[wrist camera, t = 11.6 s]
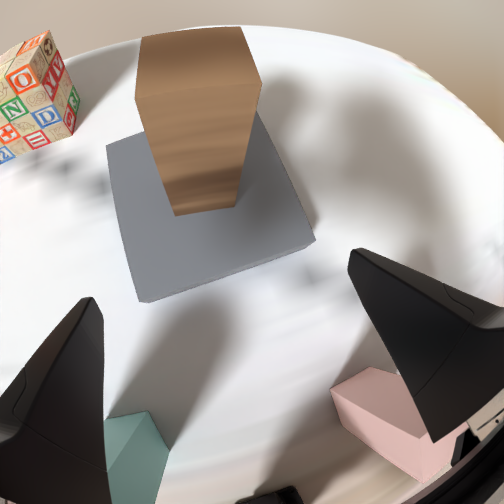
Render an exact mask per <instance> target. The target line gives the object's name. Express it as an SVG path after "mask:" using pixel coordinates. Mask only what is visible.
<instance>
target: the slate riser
mask: <svg viewBox="0 0 504 504" xmlns="http://www.w3.org/2000/svg"><path fill="white" fill-rule="evenodd" d="M106 151H107V159H108V166H109V173H110V180H111V186H112V192H113V198H114V203H115V209H116V214H117V219H118V223H119V228H120V232H121V237H122V241H123V245H124V249H125V253H126V257H127V261H128V265H129V269H130V272H131V276H132V279H133V283H134V286H135V290H136V293H137V296H138V299H139V302H144V303H151V302H154V301H157V300H160V299H162V298H165V297H168V296H171V295H174V294H177V293H180V292H183V291H186V290H189V289H192V288H195V287H198V286H201V285H203V284H206V283H209V282H212V281H215V280H218V279H221V278H224V277H226V276H229V275H232V274H235V273H238V272H241V271H243V270H246V269H249V268H252V267H255V266H258V265H260V264H263V263H266V262H269V261H272V260H274V259H277V258H280V257H283V256H286V255H288V254H291V253H294V252H297V251H299V250H302V249H304V248H306V247H307V246H309V245H310V244H312V243H313V242H315V241H316V239H315V236H314V234H313V231H312V229H311V227H310V224H309V222H308V220H307V217H306V215H305V213H304V210H303V208H302V206H301V203H300V201H299V199H298V197H297V194H296V192H295V190H294V188H293V185H292V183H291V181H290V179H289V177H288V174H287V172H286V170H285V168H284V166H283V164H282V162H281V160H280V157H279V155H278V153H277V151H276V149H275V147H274V145H273V143H272V141H271V139H270V137H269V135H268V133H267V131H266V129H265V127H264V125H263V123H262V121H261V119H260V117H259V115H258V113H257V111H255V116H254V120H253V124H252V128H251V133H250V137H249V142H248V146H247V150H246V155H245V159H244V164H243V168H242V173H241V178H240V182H239V187H238V192H237V196H236V201H235V206H234V207H231V208H225V209H218V210H212V211H206V212H199V213H193V214H187V215H182V216H176V217H175V215H174V212H173V210H172V207H171V204H170V202H169V199H168V196H167V194H166V191H165V188H164V186H163V183H162V180H161V177H160V175H159V172H158V169H157V166H156V163H155V160H154V158H153V155H152V152H151V149H150V146H149V143H148V140H147V137H146V134H145V131H144V132H141V133H138V134H135V135H133V136H130V137H127V138H124V139H122V140H119V141H116V142H114V143H111V144H109V145H106Z"/></svg>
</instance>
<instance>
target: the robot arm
mask: <svg viewBox="0 0 504 504" xmlns="http://www.w3.org/2000/svg"><path fill="white" fill-rule="evenodd" d="M348 274H349V277H350V279H351V281H352V283H353V285H354V287H355V289H356V292H357V294H358V296H359V298H360V300H361V303H362V305H363V307H364V308H365V310H366V312H367V314H368V316H369V317H370V319H371V321H372V323H373V324H374V326H375V328H376V330H377V331H378V333H379V335H380V337H381V339H382V340H383V342H384V344H385V346H386V348H387V350H388V351H389V353H390V355H391V357H392V359H393V361H394V363H395V365H396V367H397V369H398V370H399V372H400V374H401V376H402V378H403V380H404V382H405V384H406V386H407V388H408V390H409V392H410V394H411V396H412V398H413V401H414V403H415V405H416V407H417V409H418V412H419V414H420V416H421V418H422V420H423V422H424V425H425V427H426V429H427V431H428V434H429V436H430V438H431V441H432V442H433V444H434V443H436V442H437V441H439V440H440V439H442V438H443V437H445V436H446V435H448V434H449V433H451V432H452V431H453V430H455V429H456V428H457V427H459V426H460V425H461V424H463V423H464V422H465V421H466V423H467V425H468V428H467V429H466V430H465V431H463V432H462V433H461V434H460V435H459V436H458V437H456V442H455V447H454V452H453V456H452V460H451V466H452V468H451V469H450V470H449V471H447V472H446V473H445V474H444V475H442V476H441V477H440V478H438V479H437V480H436V481H434V482H433V483H432V484H430V485H429V486H427V487H426V488H425V489H423V490H422V491H420V492H419V493H417V494H416V495H414V496H413V497H411V498H410V499H408V500H406V501H405V502H403V503H401V504H499V503H500V502H501V501H502V499H503V498H504V307H499V306H496V305H494V304H491V303H489V302H486V301H484V300H482V299H479V298H477V297H474V296H472V295H469V294H467V293H465V292H462V291H460V290H458V289H455V288H453V287H451V286H449V285H447V284H445V283H442V282H440V281H438V280H436V279H434V278H431V277H429V276H427V275H425V274H423V273H420V272H418V271H416V270H414V269H411V268H409V267H407V266H404V265H402V264H400V263H397V262H395V261H393V260H390V259H388V258H386V257H383V256H381V255H379V254H376V253H374V252H371V251H369V250H367V249H364V248H357V249H353V250H352V251H351V253H350V258H349V263H348ZM103 383H104V319H103V315H102V313H101V311H100V309H99V307H98V305H97V303H96V301H95V300H94V298H93V297H86V298H82V299H80V301H79V302H78V303H77V304H76V305H75V306H74V307H73V308H72V309H71V310H70V312H69V313H68V314H67V315H66V316H65V317H64V318H63V319H62V321H61V322H60V323H59V324H58V325H57V326H56V327H55V329H54V330H53V331H52V332H51V333H50V334H49V336H48V337H47V338H46V339H45V340H44V342H43V343H42V344H41V345H40V347H39V348H38V349H37V350H36V352H35V353H34V354H33V355H32V357H31V358H30V359H29V360H28V362H27V363H26V364H25V367H23V368H22V370H21V371H20V372H19V374H18V375H17V376H16V378H15V379H14V380H13V382H12V383H11V384H10V385H9V387H8V388H7V389H6V390H5V392H4V393H3V394H2V395H1V397H0V504H112V499H111V493H110V487H109V480H108V472H107V465H106V454H105V441H104V420H103ZM290 490H292V491H290ZM238 504H304V503H303V501H302V499H301V497H300V495H299V494H298V492H297V490H296V488H295V487H294V486H290V487H287V488H285V489H282V490H279V491H277V492H274V493H271V494H268V495H265V496H262V497H259V498H256V499H252V500H249V501H245V502H242V503H238Z"/></svg>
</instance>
